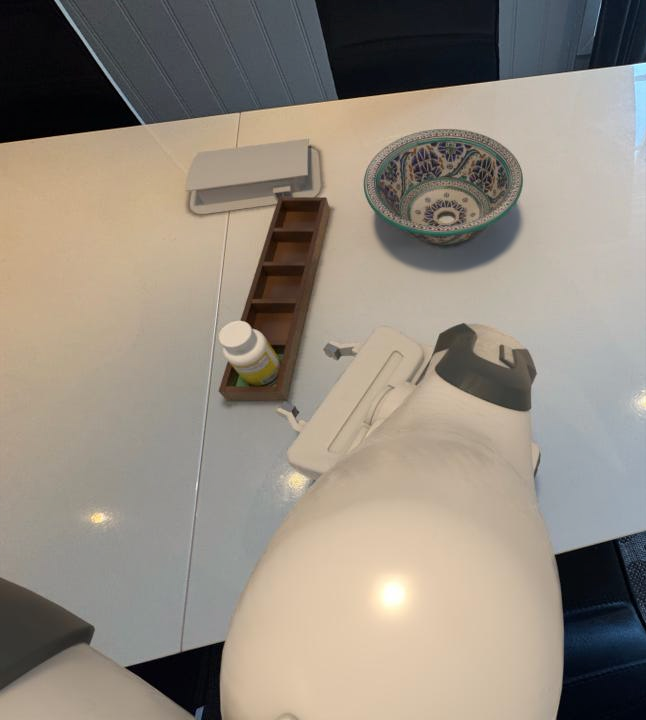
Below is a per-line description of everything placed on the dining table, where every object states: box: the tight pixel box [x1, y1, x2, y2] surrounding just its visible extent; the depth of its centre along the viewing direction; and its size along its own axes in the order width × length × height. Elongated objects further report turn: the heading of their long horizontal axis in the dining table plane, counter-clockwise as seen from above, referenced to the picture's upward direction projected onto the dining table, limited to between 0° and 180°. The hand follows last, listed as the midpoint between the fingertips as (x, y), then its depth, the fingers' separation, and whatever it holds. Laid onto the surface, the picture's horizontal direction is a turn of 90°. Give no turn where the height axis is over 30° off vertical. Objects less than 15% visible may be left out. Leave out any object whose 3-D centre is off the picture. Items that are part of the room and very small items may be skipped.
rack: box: [218, 196, 331, 402], centre depth 78 cm, size 8×38×3 cm, turn 0°
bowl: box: [363, 128, 524, 246], centre depth 83 cm, size 25×25×10 cm
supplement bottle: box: [218, 320, 281, 386], centre depth 67 cm, size 5×5×10 cm
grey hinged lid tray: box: [184, 138, 322, 215], centre depth 92 cm, size 15×23×4 cm, turn 102°
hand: (305, 376), depth 61 cm, fingers open, 8 cm apart
